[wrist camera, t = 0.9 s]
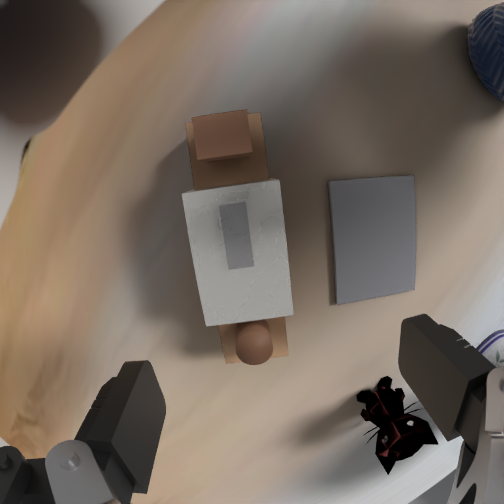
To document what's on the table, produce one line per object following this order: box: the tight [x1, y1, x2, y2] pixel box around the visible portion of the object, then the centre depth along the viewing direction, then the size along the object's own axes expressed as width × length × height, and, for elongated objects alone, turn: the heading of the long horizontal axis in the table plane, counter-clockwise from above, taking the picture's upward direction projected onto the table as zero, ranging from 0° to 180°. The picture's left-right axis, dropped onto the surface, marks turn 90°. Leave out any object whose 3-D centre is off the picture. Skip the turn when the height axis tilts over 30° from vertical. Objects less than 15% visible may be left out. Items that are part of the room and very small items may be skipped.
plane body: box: [186, 110, 288, 365], centre depth 24 cm, size 20×6×11 cm, turn 7°
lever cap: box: [182, 178, 293, 326], centre depth 22 cm, size 9×6×5 cm, turn 7°
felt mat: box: [328, 175, 416, 305], centre depth 29 cm, size 12×9×1 cm
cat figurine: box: [357, 376, 438, 475], centre depth 29 cm, size 7×7×12 cm
